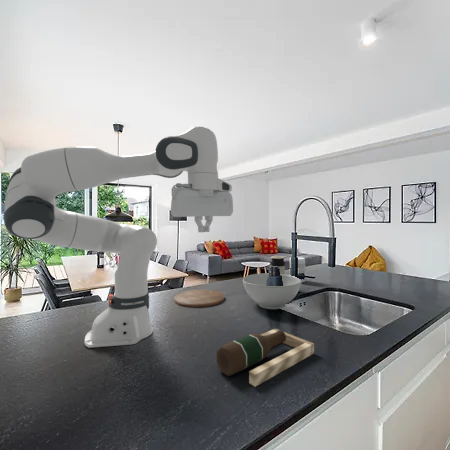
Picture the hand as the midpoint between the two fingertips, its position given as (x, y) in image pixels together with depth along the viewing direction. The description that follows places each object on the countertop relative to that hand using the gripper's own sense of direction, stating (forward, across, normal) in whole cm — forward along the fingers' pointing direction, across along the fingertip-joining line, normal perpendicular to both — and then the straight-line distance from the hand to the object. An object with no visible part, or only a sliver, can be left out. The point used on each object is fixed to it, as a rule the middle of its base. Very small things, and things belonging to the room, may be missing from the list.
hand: (203, 232), depth 83 cm
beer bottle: (+34, -2, -11) cm, 35 cm away
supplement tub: (+38, +99, +38) cm, 113 cm away
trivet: (+38, +31, +48) cm, 69 cm away
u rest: (+37, +12, -13) cm, 41 cm away
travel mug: (+38, +77, +36) cm, 93 cm away
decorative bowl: (+38, +51, +18) cm, 66 cm away
